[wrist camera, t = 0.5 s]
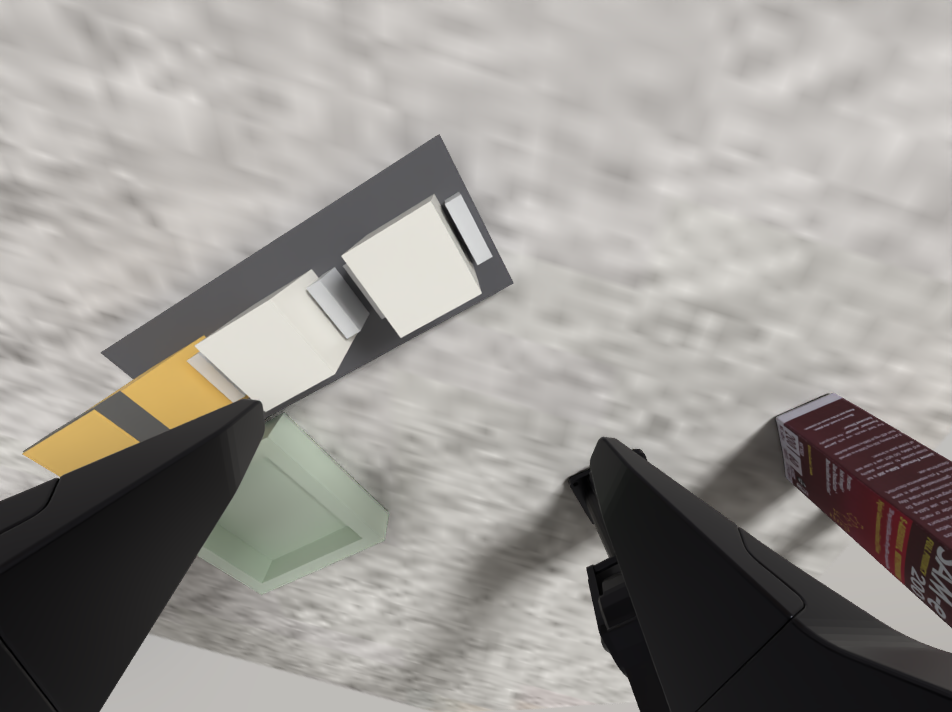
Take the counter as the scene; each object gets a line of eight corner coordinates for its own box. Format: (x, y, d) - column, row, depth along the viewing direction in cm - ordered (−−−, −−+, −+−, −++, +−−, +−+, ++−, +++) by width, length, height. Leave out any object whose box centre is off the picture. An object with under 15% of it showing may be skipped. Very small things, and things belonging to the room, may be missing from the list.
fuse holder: (509, 276, 21) (522, 297, 17) (228, 430, 24) (191, 474, 21) (439, 136, 17) (438, 127, 14) (122, 341, 21) (56, 375, 17)
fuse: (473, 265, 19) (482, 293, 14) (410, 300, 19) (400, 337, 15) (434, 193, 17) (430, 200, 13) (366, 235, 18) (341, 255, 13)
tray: (389, 513, 30) (384, 540, 27) (274, 565, 31) (261, 594, 29) (284, 412, 24) (267, 436, 22) (152, 483, 26) (125, 512, 24)
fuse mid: (359, 329, 20) (335, 374, 16) (303, 361, 21) (265, 412, 16) (311, 269, 18) (269, 299, 14) (252, 305, 19) (194, 345, 14)
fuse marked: (259, 387, 21) (183, 474, 15) (208, 415, 22) (115, 511, 16) (203, 334, 19) (91, 409, 13) (150, 367, 20) (20, 453, 14)
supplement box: (770, 416, 28) (1097, 662, 14) (832, 389, 27) (1248, 621, 13) (782, 480, 32) (1049, 723, 18) (837, 457, 31) (1164, 694, 17)
